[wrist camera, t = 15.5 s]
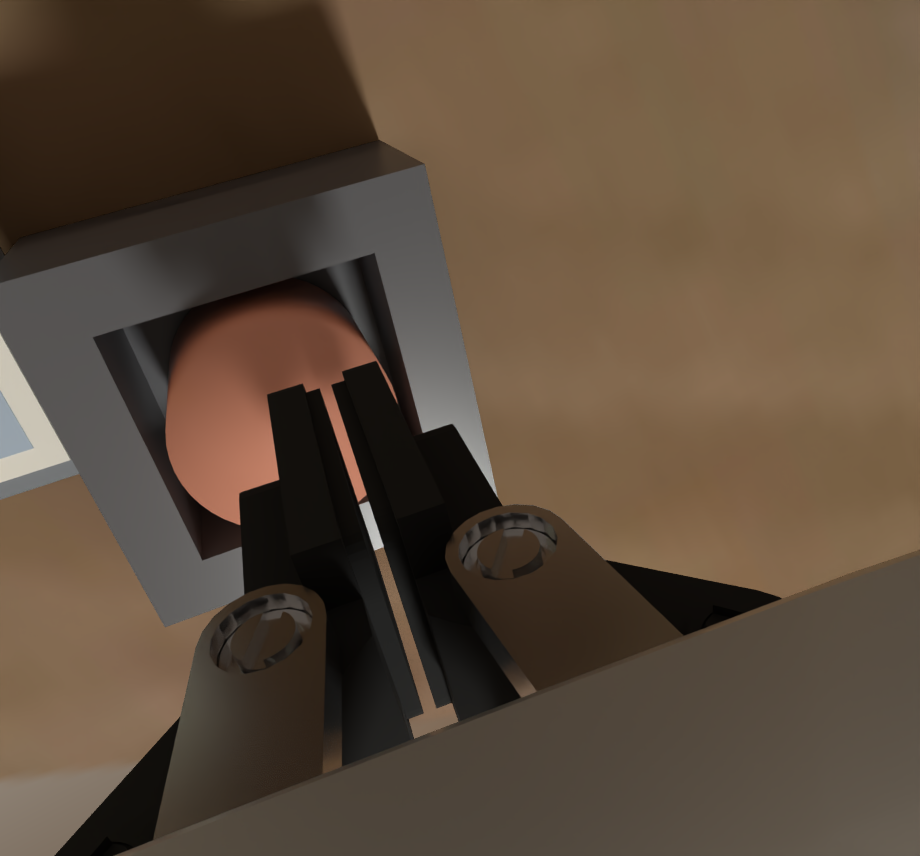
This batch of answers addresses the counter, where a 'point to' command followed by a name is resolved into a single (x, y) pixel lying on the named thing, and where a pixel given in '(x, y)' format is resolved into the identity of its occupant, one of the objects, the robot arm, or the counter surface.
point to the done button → (253, 385)
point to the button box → (209, 279)
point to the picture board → (26, 434)
